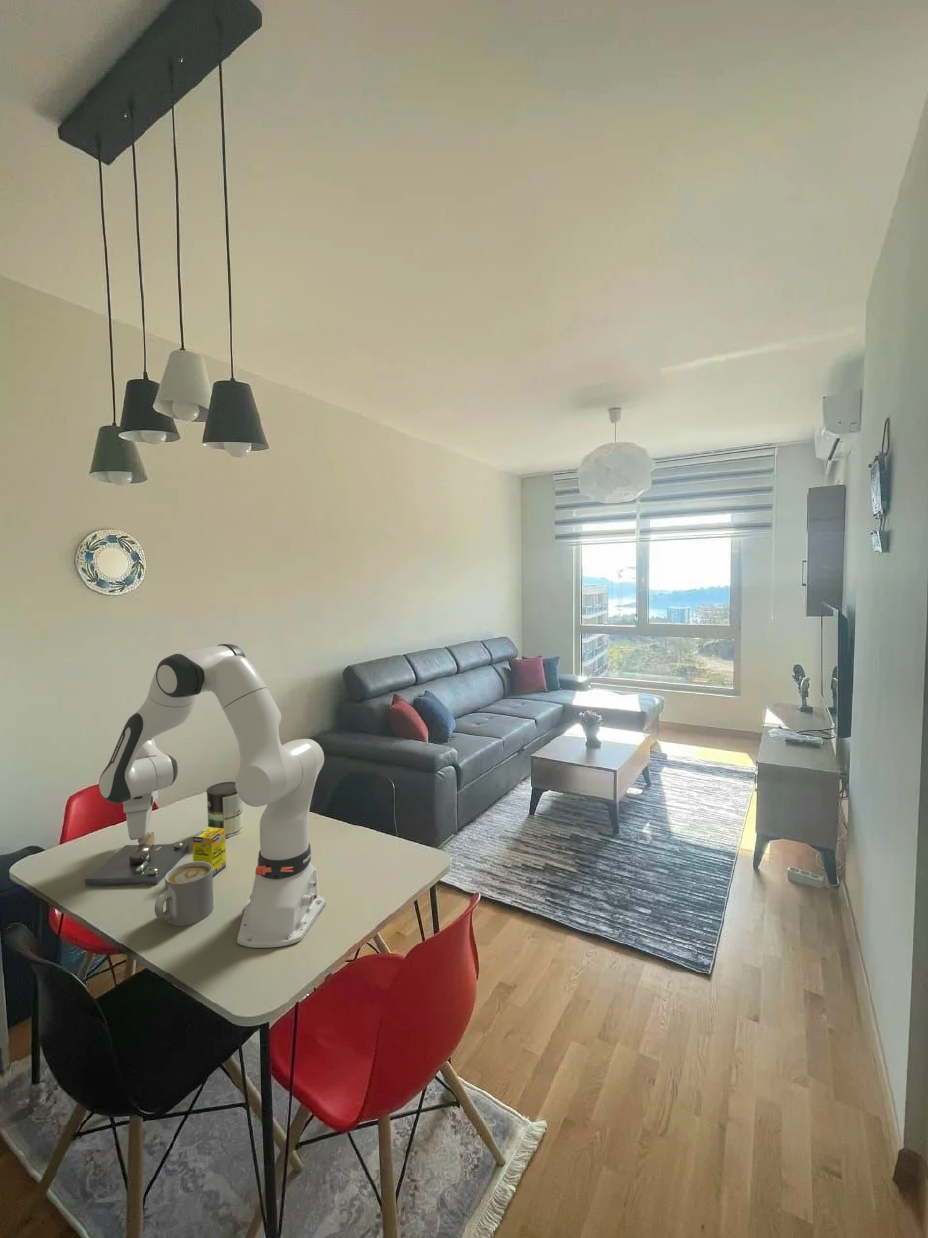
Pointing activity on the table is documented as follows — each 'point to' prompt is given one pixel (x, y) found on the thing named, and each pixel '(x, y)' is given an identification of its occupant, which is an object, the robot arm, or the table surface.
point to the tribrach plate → (138, 866)
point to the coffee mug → (187, 894)
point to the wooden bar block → (142, 850)
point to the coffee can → (225, 808)
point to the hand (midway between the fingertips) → (142, 841)
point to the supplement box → (210, 848)
